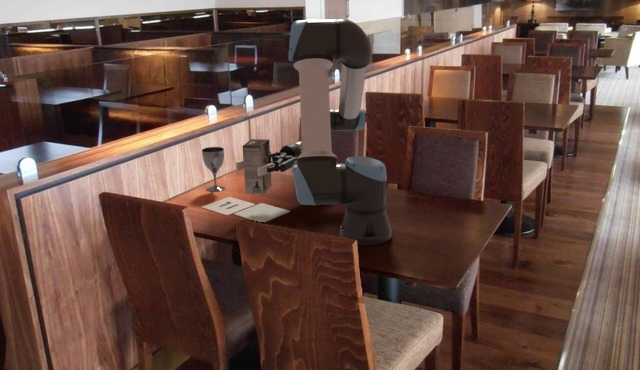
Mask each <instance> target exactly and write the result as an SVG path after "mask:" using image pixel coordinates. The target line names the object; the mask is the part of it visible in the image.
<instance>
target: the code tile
mask: <svg viewBox="0 0 640 370" xmlns="http://www.w3.org/2000/svg"><path fill="white" fill-rule="evenodd" d="M255 205H257V204H255V203H253V202H249V201H245V200H242V199H238V198H236V197H232V196H227V197H224V198H222V199H220V200H216V201H214V202H210V203H207V204H205V205H201V209H205V210H208V211H212V212H215V213H218V214H221V215H223V216H230V215H232V214H233V215H234V213H237V212H239V211H242V210H245V209H247V208H250V207H253V206H255Z"/></svg>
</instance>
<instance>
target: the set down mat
mask: <svg viewBox="0 0 640 370" xmlns="http://www.w3.org/2000/svg"><path fill="white" fill-rule="evenodd" d="M290 212H291V210H288V209H284V208H282V207H276V206H274V205H270V204H267V203H264V202H260V203H258V204H256V205H254V206H251V207H248V208H246V209H243V210H241V211H238V212H235V213H233V215H234V216H237V217H239V218H240V217H241V218H244V219H246V220H249V221H253V220H254V221H253V222H256V221H258V222H257V223H259V222H264V223H266V222H269V221H272V220H273V219H276V218H278V217H281V216H283V215H285V214H288V213H290Z"/></svg>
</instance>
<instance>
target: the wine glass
mask: <svg viewBox="0 0 640 370" xmlns="http://www.w3.org/2000/svg"><path fill="white" fill-rule="evenodd" d="M201 155H202V157H201V158H202V161H203V163H204V165H205V167H206V168H207V169H208V170H209V171H210V172H211V173H212V177H213V182H214V183H213V185H212V186H208V187H206V189H205V191H207V192H210V193H211V192H213V193H214V192H217V193H218V192H222V191H225V190H226V187H225V186H223V185H217V174H218V172H219V170H220V169H221V167H222V166H223V165H224V162H225V148H224V147H222V146H210V147H209V146H208V147H204V148H202V149H201Z"/></svg>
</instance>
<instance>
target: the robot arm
mask: <svg viewBox="0 0 640 370" xmlns="http://www.w3.org/2000/svg"><path fill="white" fill-rule="evenodd" d="M288 43H289V46H288V47H289V48H288V61H289V62H292V63H293V68H294V69H295V70H297V72H298V76H299V77H298V78H299V79H298V81H299V82H298V84H299V106H300V108H299V109H300V129H301V130H300V134H301V135H300V137H301V140H300V141H299V140H298V141H296V142H292V143H290V144H287V145H283V146H282V147H281V148H280V151H275V152H272V151H270V164H267V165H264V166H261V167H258V176H262V175H265V174H268V173H271V174H272V173H273V172H279V171H280V172H281V173H283V172H287V171H289V169H292V176H293V182H294V188H295V194H296V199H297V202H298V203H299V204H300V205H302V206H319V205H320V206H321V205H325V206H326V205H345V212H344V216H343V217H342V221H341V223H340V228H339V237H340V236H341V237H346V238H350V239H355V240H357V241H358V244H359V245H358V246H367V247H368V246H377V245H378V246H379V245H382V244H384V243H387V242H388V241H390V239H392V227H391V224H390V221H389V217H388V215H387V207H386V206H387V181H388V177H387V167H386V165H385V164H384V162H382V161H380V160H378V159H376V158H373V157H368V156H359V155H355V156H348V157H346V159H345V161H344V162H343V163H342V162H341V163H338V156H337V155H336V154H335V153H334V152H333V151H332V132H341V131H342V132H350V131H351V132H354V131H355V132H356V131H363V130H364V129H365V126H366V112H365V110H364V109H363V108H362V102H363V96H364V95H363V94H364V86H365V79H366V71H367V68H368V66H369V65H370V64H371V61H372V53H373V52H372V45H371V42H370V40H369V36H367V34H366V32H365V31H364V29H362V27H361V26H360V25H359V24H357V23H355V22H354V21H352V20H349V19H346V18H345V19H344V18H338V19H337V18H336V19H335V18H334V19H332V18H331V19H328V18H327V19H309V18H308V19H301V20H300V19H298V20H295V21H293V22H292V24H291V28H290V34H289V42H288ZM334 61H339V62H340V64H341V73H340V74H341V75H340V87H339V88H340V89H339V98H338V99H339V101H338V108H337V109H335V108H334V109H331V105H330V101H331V100H330V80H329V77H330V76H329V75H330V74H329V71H330V70H331V69H332V68H333V67H334ZM241 170H244V161H243V159H242V160H240V161H236V162H235V171H236V172H238V171H241ZM341 237H340V238H341Z"/></svg>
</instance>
